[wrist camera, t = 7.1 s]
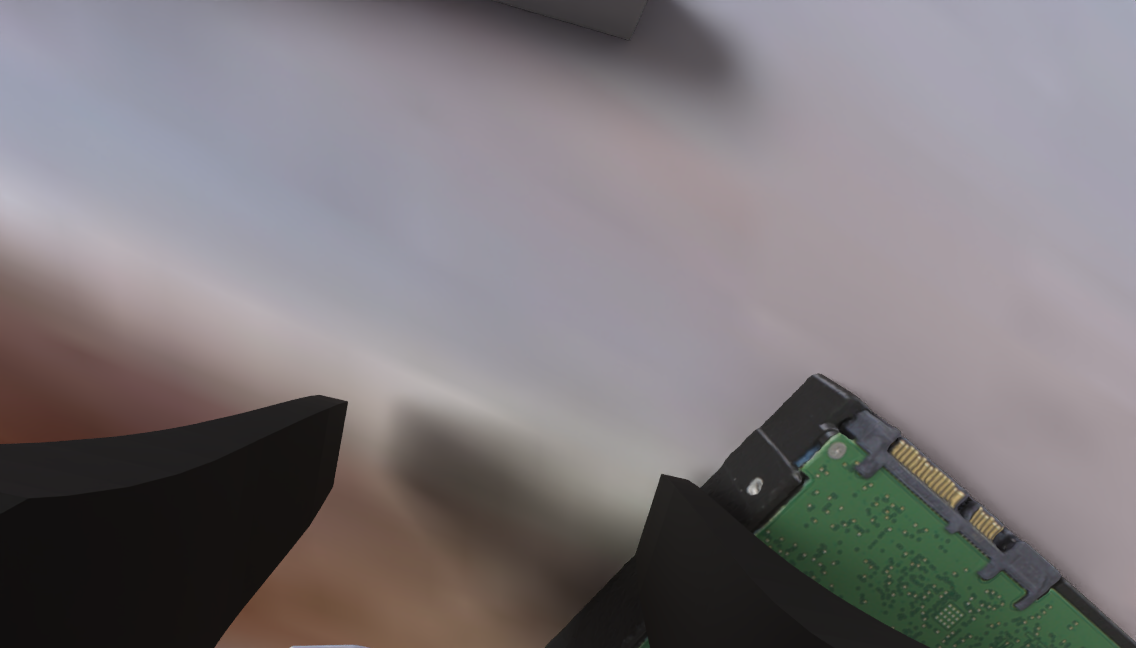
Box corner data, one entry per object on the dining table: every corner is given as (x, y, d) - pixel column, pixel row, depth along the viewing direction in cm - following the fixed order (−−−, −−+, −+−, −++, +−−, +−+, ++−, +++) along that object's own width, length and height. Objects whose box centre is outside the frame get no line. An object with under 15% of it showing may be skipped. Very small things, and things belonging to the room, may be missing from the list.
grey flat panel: (433, 791, 15) (409, 903, 13) (-8, 710, 14) (-123, 814, 12) (787, -562, 9) (872, -846, 7) (41, -846, 8) (-181, -1296, 6)
